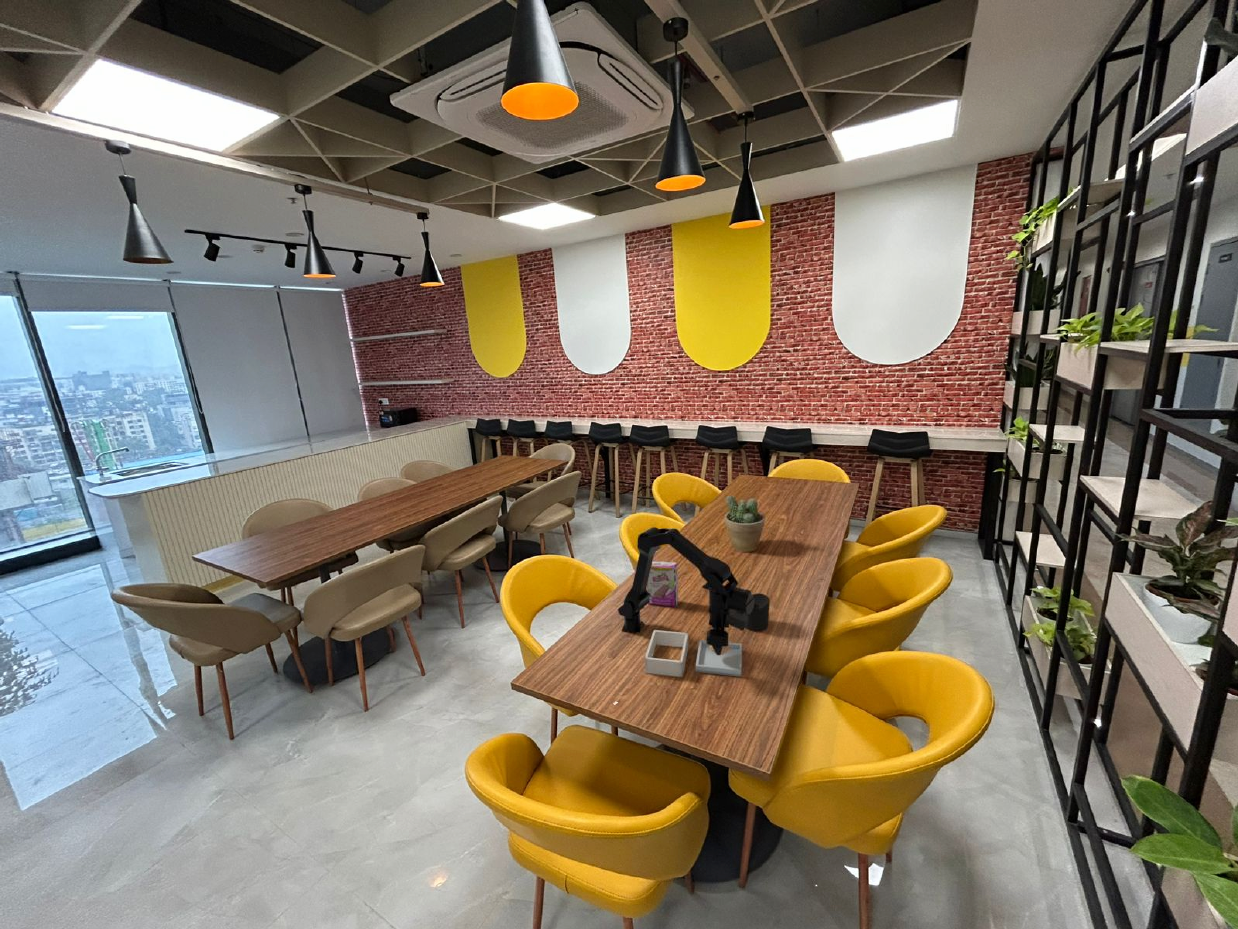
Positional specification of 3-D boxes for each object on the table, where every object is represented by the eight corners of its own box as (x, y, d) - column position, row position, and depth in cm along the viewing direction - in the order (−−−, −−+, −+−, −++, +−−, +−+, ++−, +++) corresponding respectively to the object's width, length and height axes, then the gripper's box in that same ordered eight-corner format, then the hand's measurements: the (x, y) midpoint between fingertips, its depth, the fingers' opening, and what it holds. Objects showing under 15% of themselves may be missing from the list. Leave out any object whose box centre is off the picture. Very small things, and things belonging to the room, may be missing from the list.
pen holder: (748, 614, 179) (748, 589, 177) (773, 623, 173) (774, 597, 171) (736, 627, 172) (736, 601, 170) (762, 635, 166) (762, 609, 164)
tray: (699, 645, 163) (699, 640, 162) (741, 649, 159) (741, 643, 159) (695, 672, 150) (695, 665, 150) (741, 677, 147) (741, 670, 146)
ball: (710, 646, 158) (709, 629, 156) (729, 648, 156) (729, 631, 155) (708, 658, 152) (708, 640, 151) (728, 660, 151) (728, 642, 149)
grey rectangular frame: (654, 643, 166) (653, 630, 164) (688, 646, 163) (688, 633, 162) (645, 673, 151) (644, 658, 150) (682, 677, 148) (682, 662, 147)
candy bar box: (647, 605, 190) (645, 565, 186) (650, 598, 194) (648, 560, 191) (676, 607, 187) (675, 567, 183) (678, 601, 191) (677, 561, 187)
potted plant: (761, 539, 243) (761, 491, 237) (768, 555, 226) (769, 503, 220) (723, 540, 245) (722, 492, 239) (727, 556, 228) (727, 504, 222)
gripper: (746, 622, 139) (745, 671, 143) (746, 590, 157) (746, 634, 161) (705, 619, 142) (706, 666, 146) (710, 588, 160) (711, 631, 163)
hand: (719, 648), depth 154 cm, fingers closed on ball, 6 cm apart
